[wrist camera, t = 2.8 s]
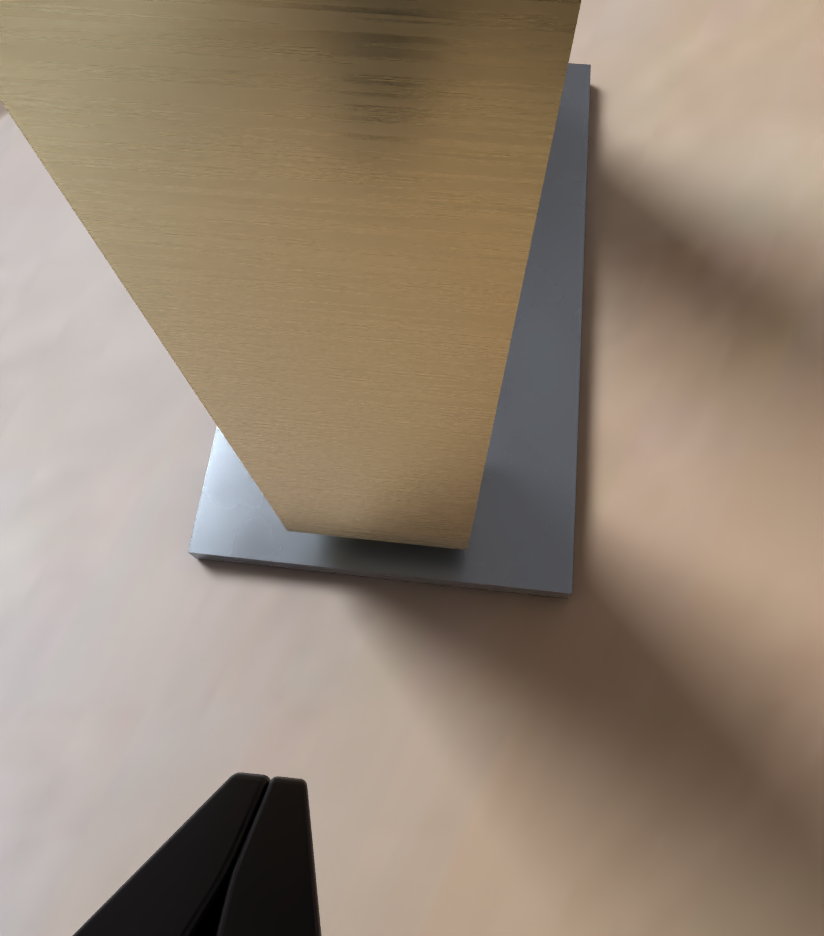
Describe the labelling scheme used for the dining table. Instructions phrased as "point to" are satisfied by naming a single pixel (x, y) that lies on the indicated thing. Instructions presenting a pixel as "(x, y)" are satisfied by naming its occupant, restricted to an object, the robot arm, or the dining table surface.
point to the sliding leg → (312, 221)
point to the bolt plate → (512, 439)
